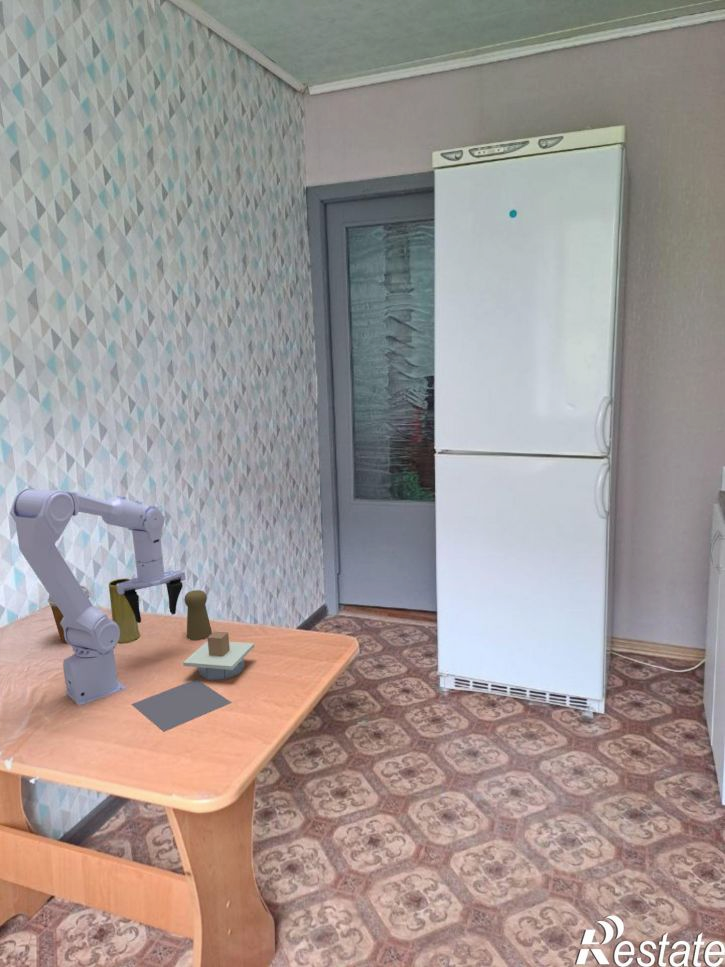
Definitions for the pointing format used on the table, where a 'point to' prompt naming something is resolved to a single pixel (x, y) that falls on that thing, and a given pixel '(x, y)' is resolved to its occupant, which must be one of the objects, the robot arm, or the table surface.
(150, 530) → the robot arm
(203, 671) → the bowl
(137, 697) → the table surface
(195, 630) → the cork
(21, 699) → the table surface
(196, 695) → the mat
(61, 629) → the disposable coffee cup
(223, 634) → the lid
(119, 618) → the vase
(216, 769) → the table surface
